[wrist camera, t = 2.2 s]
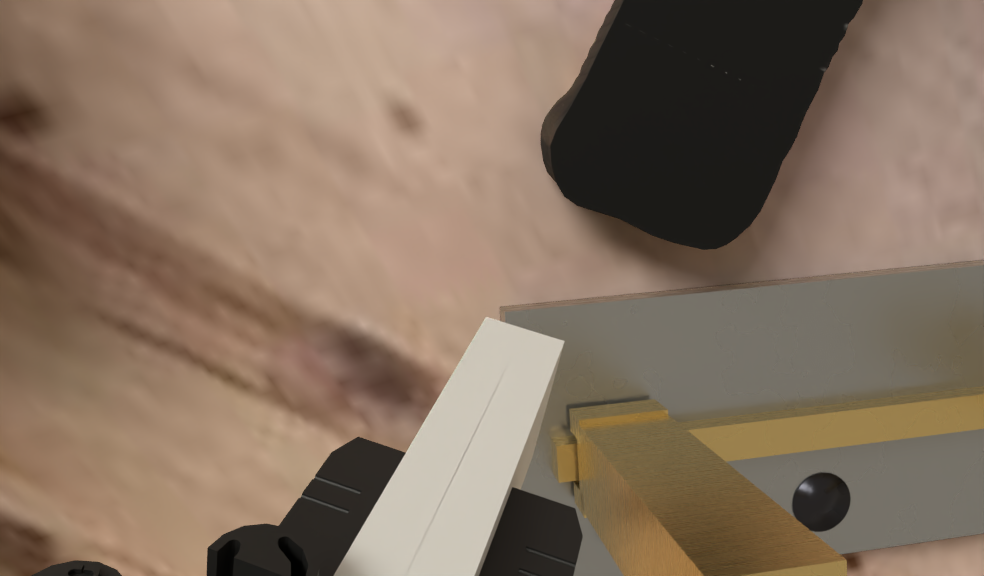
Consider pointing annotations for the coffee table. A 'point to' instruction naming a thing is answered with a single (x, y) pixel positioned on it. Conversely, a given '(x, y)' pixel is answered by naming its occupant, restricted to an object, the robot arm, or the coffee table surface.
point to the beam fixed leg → (817, 427)
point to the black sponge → (690, 111)
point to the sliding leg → (682, 502)
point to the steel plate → (788, 389)
